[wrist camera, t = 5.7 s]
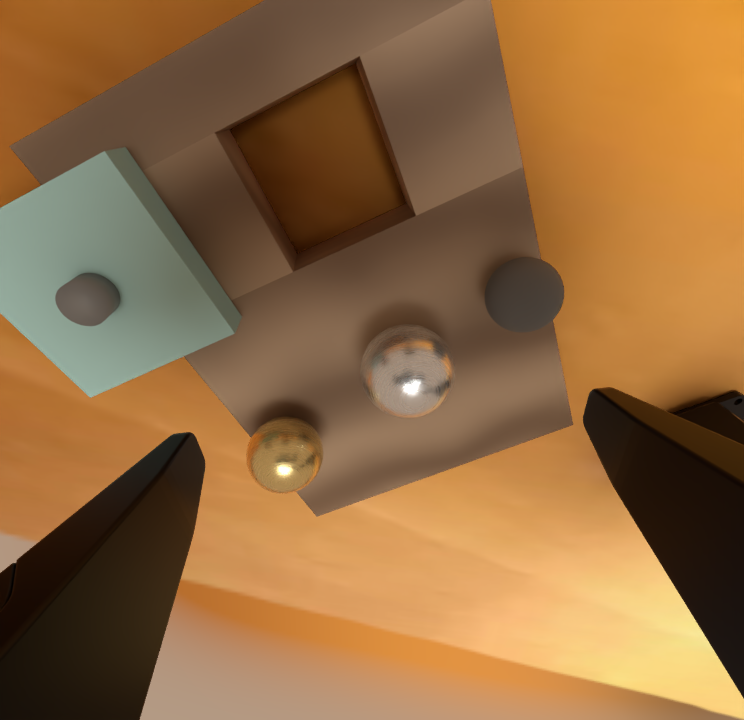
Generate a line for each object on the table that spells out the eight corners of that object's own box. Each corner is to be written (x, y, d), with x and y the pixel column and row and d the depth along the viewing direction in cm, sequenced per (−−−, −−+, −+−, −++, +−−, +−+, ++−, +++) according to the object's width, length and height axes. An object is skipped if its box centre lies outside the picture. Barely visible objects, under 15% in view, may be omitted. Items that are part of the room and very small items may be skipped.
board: (553, 398, 24) (573, 424, 22) (317, 485, 27) (316, 516, 25) (446, -82, 13) (468, -117, 11) (51, 141, 15) (9, 146, 13)
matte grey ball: (548, 297, 18) (584, 327, 16) (484, 322, 18) (509, 357, 16) (536, 235, 16) (573, 258, 14) (467, 265, 17) (491, 293, 14)
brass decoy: (335, 439, 21) (336, 494, 18) (276, 462, 22) (267, 519, 19) (303, 391, 20) (298, 443, 17) (239, 417, 20) (222, 472, 17)
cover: (242, 316, 17) (229, 346, 15) (107, 377, 18) (77, 413, 16) (125, 147, 13) (87, 154, 11) (-36, 234, 14) (-98, 255, 12)
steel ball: (452, 363, 20) (478, 417, 16) (377, 393, 20) (387, 451, 17) (426, 294, 17) (449, 338, 14) (343, 329, 18) (346, 381, 15)
